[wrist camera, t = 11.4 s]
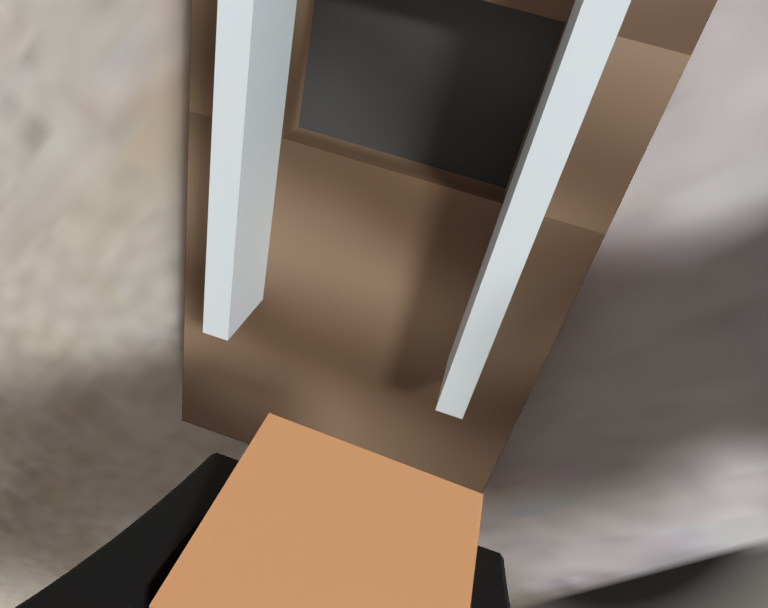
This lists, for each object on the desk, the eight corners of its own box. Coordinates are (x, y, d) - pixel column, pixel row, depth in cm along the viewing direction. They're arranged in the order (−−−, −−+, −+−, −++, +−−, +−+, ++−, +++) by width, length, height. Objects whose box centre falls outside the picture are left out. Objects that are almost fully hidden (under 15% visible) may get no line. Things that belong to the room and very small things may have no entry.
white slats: (279, -162, 12) (226, -189, 10) (642, -73, 12) (663, -81, 10) (240, 291, 19) (202, 332, 17) (472, 367, 18) (462, 419, 16)
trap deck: (227, -169, 14) (196, -183, 13) (721, -47, 13) (740, -49, 11) (200, 396, 24) (181, 420, 23) (472, 490, 23) (468, 520, 22)
